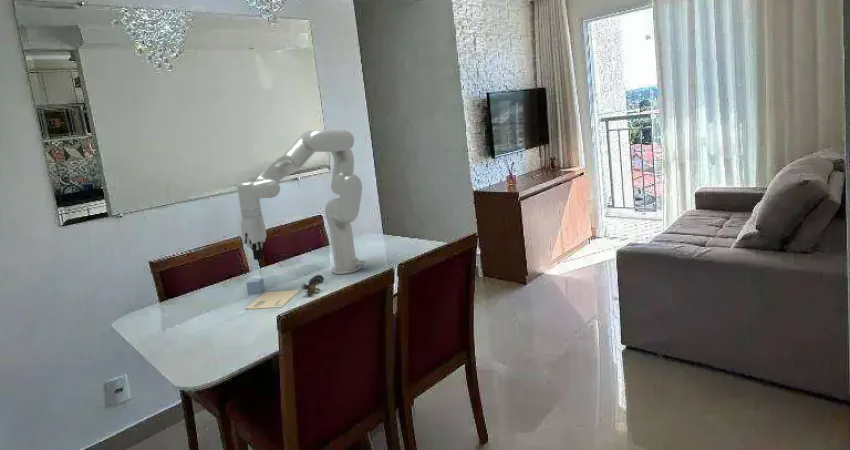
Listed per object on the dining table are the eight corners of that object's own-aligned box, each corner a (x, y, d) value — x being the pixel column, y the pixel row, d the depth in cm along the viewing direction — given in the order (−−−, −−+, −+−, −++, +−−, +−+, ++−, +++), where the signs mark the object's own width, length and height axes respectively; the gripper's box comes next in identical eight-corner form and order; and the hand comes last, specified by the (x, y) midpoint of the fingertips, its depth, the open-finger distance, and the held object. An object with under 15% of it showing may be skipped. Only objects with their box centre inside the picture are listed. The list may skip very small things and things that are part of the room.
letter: (299, 290, 216) (299, 290, 216) (281, 307, 198) (281, 306, 198) (266, 292, 218) (266, 292, 218) (245, 309, 201) (245, 308, 201)
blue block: (265, 289, 223) (263, 277, 222) (259, 293, 218) (257, 281, 217) (253, 290, 224) (251, 278, 223) (248, 294, 219) (246, 282, 218)
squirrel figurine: (322, 293, 206) (329, 281, 214) (309, 280, 204) (316, 268, 213) (308, 303, 209) (315, 291, 217) (295, 290, 207) (303, 279, 215)
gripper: (254, 210, 220) (261, 254, 223) (231, 217, 206) (239, 264, 209) (270, 209, 217) (277, 254, 221) (248, 217, 204) (255, 264, 207)
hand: (258, 259), depth 215 cm, fingers closed
